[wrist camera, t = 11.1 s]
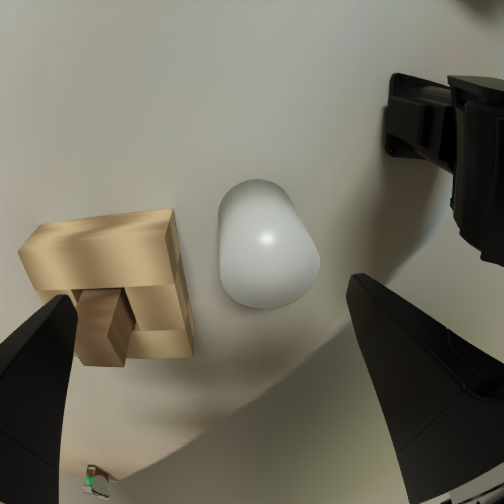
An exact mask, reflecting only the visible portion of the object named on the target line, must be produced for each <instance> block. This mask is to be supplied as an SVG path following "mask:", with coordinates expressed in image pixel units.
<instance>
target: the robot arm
mask: <svg viewBox="0 0 504 504" xmlns="http://www.w3.org/2000/svg"><path fill="white" fill-rule="evenodd" d="M397 77H399V79H400V80H399V82H398V81H397ZM447 79H448V84H449V85H450V87H448V86H445V85H442V84H439V83H435V82H432V81H428V80H425V79H421V78H417V77H413V76H409V75H405V74H401V73H394V74H393V75H392V77H391V91H390V98H389V103H388V116H387V127H386V130H387V138H386V147H385V151H386V153H387V154H388V155H390V156H392V157H403V158H414V159H424V160H429V161H430V162H432V163H434V164H436V165H437V166H439V167H441V168H442V169H444V170H446V171H447V172H449V173H451V174H452V175H453V189H452V198H451V199H450V207H451V208H452V210H453V218H454V220H455V222H456V223H457V226H458V227H459V228H460V232H459V234H460V236H461V237H462V238H463V239H464V240H465V241H467V242H468V243H469V244H470V245H471V246H473V247H474V248H476V249H477V250H479V251H480V252H481V256H480V259H481V260H482V261H486V262H490V263H494V264H498V265H500V266H502V267H504V80H502V79H497V78H491V77H478V76H449V75H448V76H447ZM392 147H393V151H392V152H391V148H392ZM346 301H347V305H348V308H349V312H350V316H351V319H352V323H353V327H354V331H355V334H356V338H357V341H358V344H359V347H360V350H361V352H362V355H363V357H364V360H365V363H366V365H367V368H368V371H369V374H370V376H371V379H372V382H373V385H374V388H375V391H376V393H377V396H378V399H379V402H380V405H381V408H382V411H383V414H384V417H385V420H386V423H387V426H388V430H389V433H390V436H391V439H392V442H393V446H394V449H395V452H396V456H397V459H398V463H399V466H400V470H401V473H402V477H403V480H404V484H405V488H406V492H407V496H408V499H409V503H410V504H420V503H422V502H425V501H428V500H430V499H432V498H435V497H437V496H440V495H442V494H444V493H447V492H449V495H450V498H449V499H447V500H445V501H444V502H442V503H441V504H504V364H503V363H502V362H500V361H498V360H497V359H495V358H493V357H491V356H490V355H488V354H486V353H485V352H483V351H482V350H480V349H478V348H477V347H475V346H473V345H472V344H470V343H468V342H467V341H465V340H464V339H462V338H461V337H460V336H458V335H457V334H455V333H453V332H452V331H451V330H449V329H446V327H445V326H444V325H442V324H441V323H439V322H438V321H436V320H435V319H433V318H432V317H430V316H429V315H427V314H426V313H424V312H423V311H422V310H420V309H418V308H417V307H415V306H414V305H413V304H411V303H409V302H408V301H406V300H405V299H403V298H402V297H400V296H399V295H397V294H396V293H394V292H393V291H391V290H390V289H388V288H387V287H385V286H384V285H382V284H380V283H379V282H377V281H376V280H374V279H373V278H371V277H369V276H368V275H366V274H365V273H357V274H352V275H351V277H350V280H349V284H348V289H347V293H346ZM77 324H78V313H77V311H76V309H75V307H74V305H73V302H72V300H71V298H70V296H69V295H67V294H58V295H56V296H54V297H53V298H52V299H51V300H50V301H48V302H47V303H46V304H45V305H44V306H42V307H41V308H40V309H39V310H38V311H37V312H35V313H34V314H33V315H32V316H31V317H30V318H28V319H27V320H26V321H25V322H24V323H23V324H22V325H21V326H19V327H18V328H17V329H16V330H15V331H14V332H13V333H12V334H11V335H9V336H8V337H7V338H6V339H5V340H4V341H3V342H2V343H1V344H0V504H59V460H60V445H61V434H62V425H63V416H64V409H65V402H66V395H67V389H68V383H69V378H70V372H71V367H72V362H73V355H74V347H75V339H76V331H77Z"/></svg>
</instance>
